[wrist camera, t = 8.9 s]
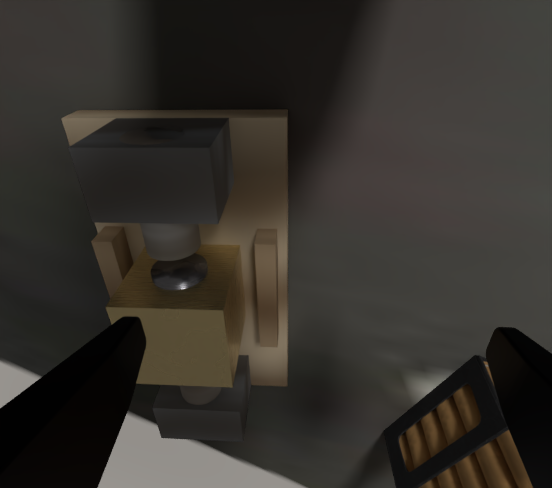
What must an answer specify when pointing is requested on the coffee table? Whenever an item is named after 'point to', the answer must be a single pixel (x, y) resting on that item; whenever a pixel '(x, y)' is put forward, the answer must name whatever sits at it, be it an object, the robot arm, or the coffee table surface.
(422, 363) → the coffee table surface
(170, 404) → the shaft stand
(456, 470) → the ammunition clip
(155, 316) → the block
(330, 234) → the coffee table surface
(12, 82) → the coffee table surface
